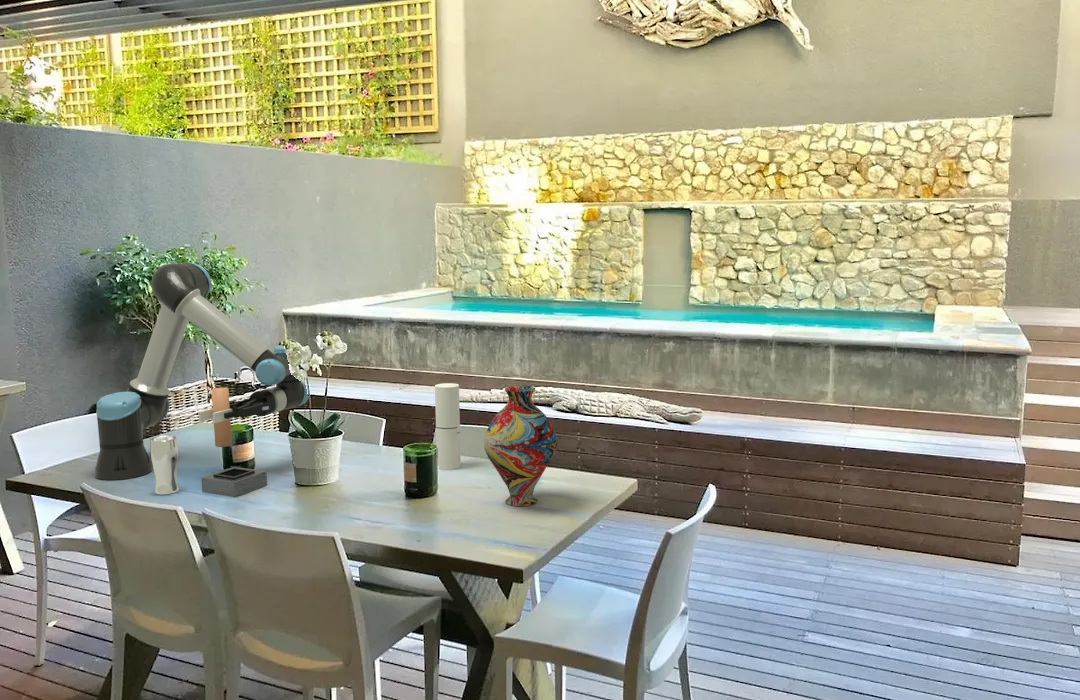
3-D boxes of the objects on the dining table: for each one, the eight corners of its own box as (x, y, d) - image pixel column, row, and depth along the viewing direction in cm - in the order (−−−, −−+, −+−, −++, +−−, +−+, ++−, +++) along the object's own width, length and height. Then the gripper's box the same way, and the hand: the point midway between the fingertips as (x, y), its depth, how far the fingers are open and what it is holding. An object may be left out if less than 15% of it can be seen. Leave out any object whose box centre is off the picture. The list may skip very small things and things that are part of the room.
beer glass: (171, 486, 237) (168, 434, 235) (185, 490, 233) (182, 437, 231) (148, 492, 232) (144, 439, 230) (162, 496, 228) (158, 442, 226)
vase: (475, 495, 227) (473, 385, 223) (541, 487, 234) (540, 380, 230) (499, 517, 209) (497, 398, 205) (568, 507, 216) (568, 392, 212)
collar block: (202, 491, 232) (201, 475, 232) (235, 480, 243) (234, 464, 242) (235, 497, 227) (234, 480, 227) (267, 485, 238) (266, 469, 237)
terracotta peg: (211, 446, 236) (207, 389, 234) (223, 442, 240) (219, 387, 238) (223, 447, 234) (219, 390, 232) (235, 444, 238) (231, 388, 236)
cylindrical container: (432, 466, 255) (430, 385, 252) (451, 462, 260) (449, 382, 257) (446, 471, 250) (444, 388, 247) (465, 466, 255) (463, 385, 252)
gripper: (290, 416, 249) (231, 433, 228) (245, 411, 256) (184, 428, 235) (289, 391, 248) (230, 406, 227) (244, 387, 255) (182, 401, 234)
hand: (206, 417), depth 231 cm, fingers closed on terracotta peg, 4 cm apart
